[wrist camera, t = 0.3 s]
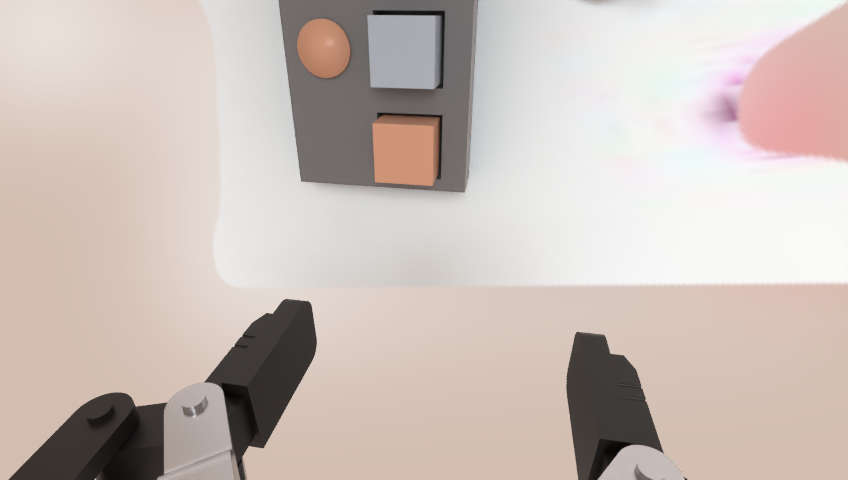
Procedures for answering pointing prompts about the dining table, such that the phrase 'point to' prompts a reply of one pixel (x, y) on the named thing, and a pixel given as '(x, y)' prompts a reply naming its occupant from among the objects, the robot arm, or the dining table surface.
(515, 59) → the dining table surface
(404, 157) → the terracotta key
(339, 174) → the key panel
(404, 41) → the blue key
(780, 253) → the dining table surface
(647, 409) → the robot arm
